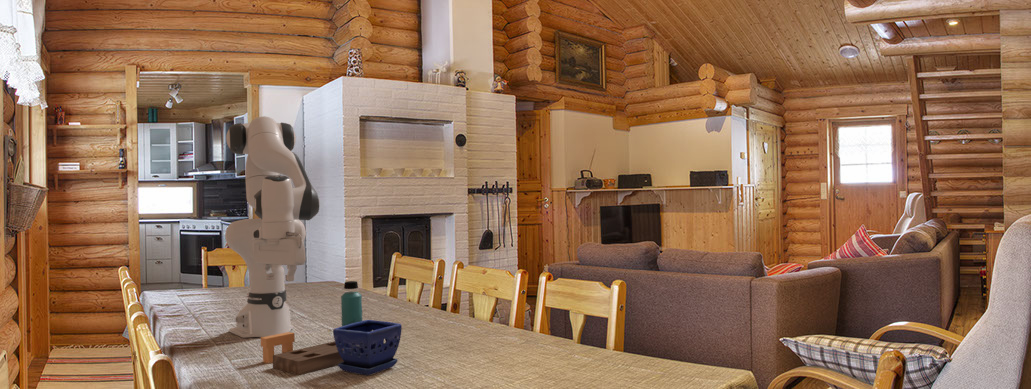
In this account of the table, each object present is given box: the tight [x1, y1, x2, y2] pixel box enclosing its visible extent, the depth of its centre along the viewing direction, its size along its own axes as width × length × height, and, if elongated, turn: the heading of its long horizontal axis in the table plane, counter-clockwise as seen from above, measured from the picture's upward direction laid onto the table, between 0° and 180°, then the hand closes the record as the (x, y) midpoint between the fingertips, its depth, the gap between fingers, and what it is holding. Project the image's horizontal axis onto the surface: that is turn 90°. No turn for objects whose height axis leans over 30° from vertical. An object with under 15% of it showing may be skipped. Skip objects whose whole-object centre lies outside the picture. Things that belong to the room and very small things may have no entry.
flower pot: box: [332, 319, 402, 376], centre depth 181 cm, size 13×13×12 cm
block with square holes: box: [272, 340, 344, 376], centre depth 191 cm, size 12×24×4 cm, turn 141°
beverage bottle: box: [340, 280, 364, 327], centre depth 209 cm, size 6×7×20 cm
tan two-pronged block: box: [260, 331, 296, 364], centre depth 194 cm, size 9×3×7 cm, turn 141°
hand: (279, 280), depth 194 cm, fingers open, 8 cm apart
